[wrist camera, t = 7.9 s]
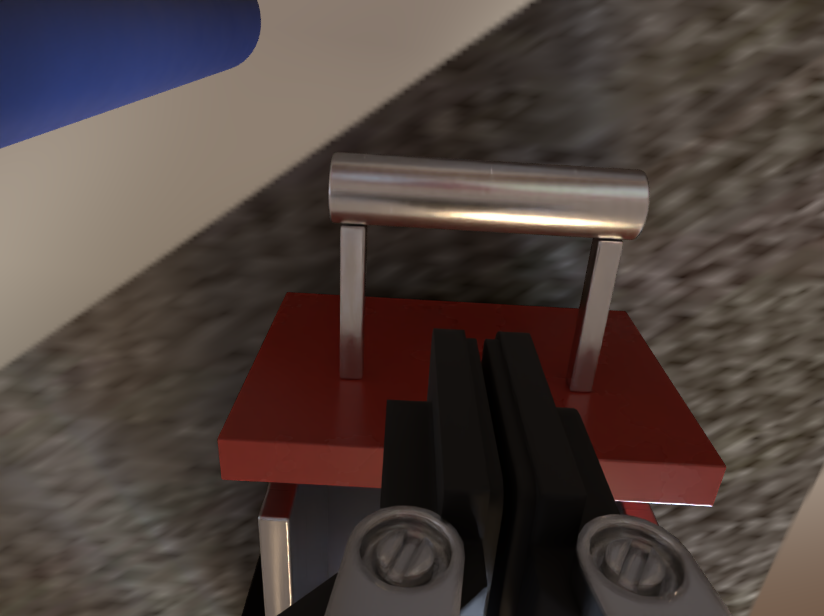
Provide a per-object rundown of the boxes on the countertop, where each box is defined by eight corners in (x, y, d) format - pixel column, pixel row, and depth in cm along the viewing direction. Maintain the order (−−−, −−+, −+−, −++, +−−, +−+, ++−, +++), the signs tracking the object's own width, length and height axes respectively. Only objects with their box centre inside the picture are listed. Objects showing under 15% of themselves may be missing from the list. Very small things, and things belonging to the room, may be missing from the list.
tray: (279, 111, 18) (189, 180, 11) (666, 134, 18) (817, 217, 11) (297, 575, 27) (252, 779, 20) (561, 589, 27) (609, 797, 20)
